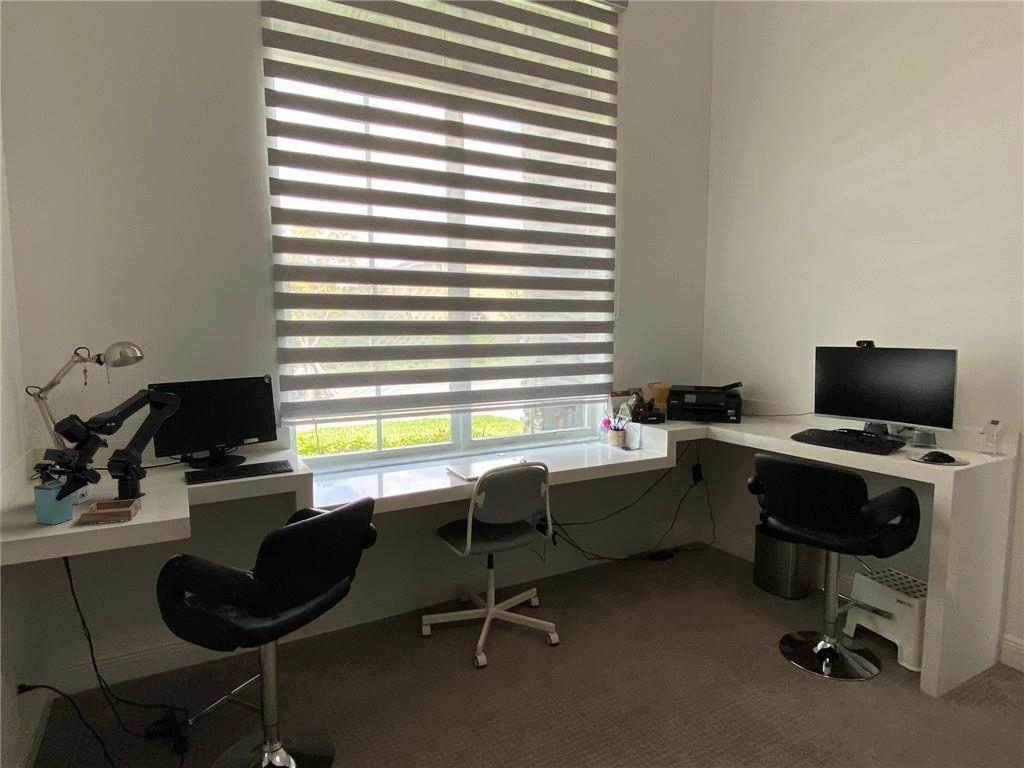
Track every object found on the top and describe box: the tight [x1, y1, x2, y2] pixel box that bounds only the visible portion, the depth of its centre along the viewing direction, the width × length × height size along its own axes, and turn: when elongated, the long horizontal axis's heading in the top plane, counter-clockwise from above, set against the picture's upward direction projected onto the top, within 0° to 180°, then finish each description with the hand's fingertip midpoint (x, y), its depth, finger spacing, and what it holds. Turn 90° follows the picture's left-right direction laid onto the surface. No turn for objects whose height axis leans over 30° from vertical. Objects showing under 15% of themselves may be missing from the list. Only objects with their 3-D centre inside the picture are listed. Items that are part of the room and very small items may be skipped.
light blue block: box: [33, 480, 73, 526], centre depth 166 cm, size 6×6×12 cm
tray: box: [79, 498, 142, 525], centre depth 171 cm, size 12×12×3 cm
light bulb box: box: [56, 465, 93, 505], centre depth 184 cm, size 11×7×11 cm, turn 92°
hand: (48, 499), depth 164 cm, fingers closed on light blue block, 6 cm apart
